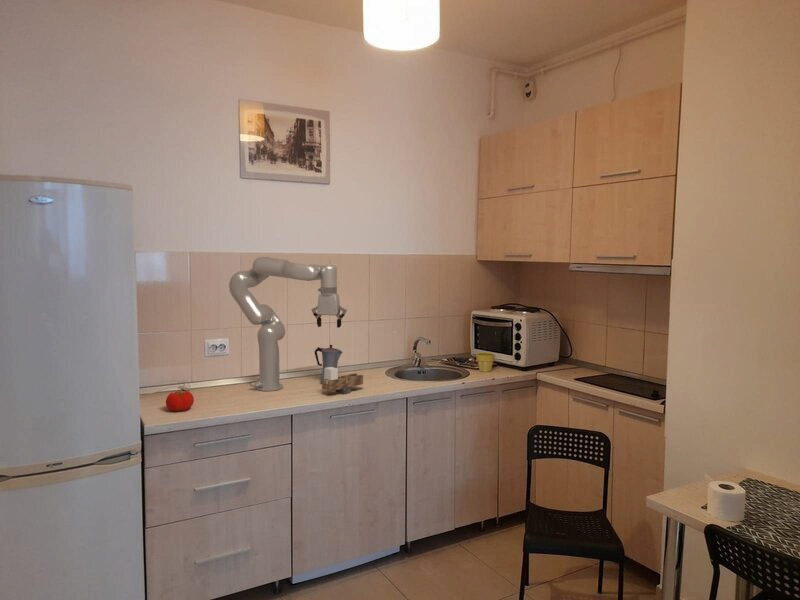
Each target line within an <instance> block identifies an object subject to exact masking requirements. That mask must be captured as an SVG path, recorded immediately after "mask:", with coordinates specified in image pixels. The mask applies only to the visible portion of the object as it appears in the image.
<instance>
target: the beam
mask: <svg viewBox="0 0 800 600" xmlns="http://www.w3.org/2000/svg"><path fill="white" fill-rule="evenodd" d="M326 380H328V379H322V383H321V389H323V390H326V391H329V392H331V391H335V393H338V394H341V395H348V394H351V387H355V386H356V387H357V386H362V385H364V375H363V374H358V373H356V372H355V373H350V374H344V375H338V379H336V380H330V381H328V384H326Z"/></svg>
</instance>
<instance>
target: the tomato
mask: <svg viewBox="0 0 800 600" xmlns="http://www.w3.org/2000/svg"><path fill="white" fill-rule="evenodd" d="M194 398H195V397H194V395H193V393H191V392H190V391H188V390H185V391H180V390H179V391H178V390H177V391H174V392H171V393H169V394H168V395H167V396H166V399H165V406H166V408H167V409H168V410H170V411H173V412H176V413H177V412H183V411H187V410H189V409H191V408H192V406H193V405H194V404H195V403H194V401H195V399H194Z"/></svg>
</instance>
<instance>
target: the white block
mask: <svg viewBox="0 0 800 600" xmlns="http://www.w3.org/2000/svg"><path fill="white" fill-rule="evenodd" d="M338 372H339V368H338V367H337V368H334V367H328V368H324V379H328V380H326V384H328V381H330V380H336V379H338V376H339V373H338Z"/></svg>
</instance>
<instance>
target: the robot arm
mask: <svg viewBox="0 0 800 600" xmlns="http://www.w3.org/2000/svg"><path fill="white" fill-rule="evenodd" d="M337 274H338V269H337V266H336V265H334V264H326V265H321V264H304V263H296V262H291V261H290V260H287V259H282V258H273V257H270V256H259V257H257V258H255V259H254V260H253V262H252V268H251V269H249V270H241V271H237V272H235V273H233V275H232V276H231V277H230V280H229V284H228V288H229V292H230V295H231V297H232V298H233V299H234V301H235V303H237V305H238V306H239V308H240V310H241V311H242V313H243V314H244V315H245V317H246V318H247V320H248V321H249V323H250V324H252V325H254V326H258V325H261V327H260V328H259V330H258V332H257V343H258V356H259V357H258V360H259V369H258V371H259V372H258V373H259V377H258V378H259V379H257V381H255V382H249V383H250V384H249V386H250V388H253V387H256V388H255V389H256V390H258V391H261V392H269V391H270V392H274V391H279V390H282V389H283V388H284V385H283V384H281V383H280V348H279V347H280V346H279V341H281V340H283V338H284V337H285V335H286V327H285V325H284V323H283V322H282V321H281V319H280V318H279V316H278V315H277V313H276V311H274V309H273V308H272V307H271V306H269V305H268V304H265V303H264V304H263V303H262V304H260V302H258V300H257V299H256V297H255V295H254V294H253V293H252V292H250V290H249V289H248V288H255V287H257V286H258V285H259V284H261V283H263V281H265V280H267V278H269V277H278V278H283V279H291V280H297V281H306V282H312V281H319V280H320V288H318V289H317V291H318V292H320V293H319V294H318V300H317V306H315V307H313V308H311V312H312V315H313V316H314V317H315V319H316V325H317V327H318V328H321V327H322V318H321V317H322V316H335V317H336V318H337V319H336V328H337V329H338V328H341V327H342V319H343V318H344V317H345V315H346V313H347V311H348V310H347V309H346V308H344V307H342V306H341V302H340V296H339V294H338V289H337V288H338V281H337V280H338V275H337ZM341 312H342V313H341Z"/></svg>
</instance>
